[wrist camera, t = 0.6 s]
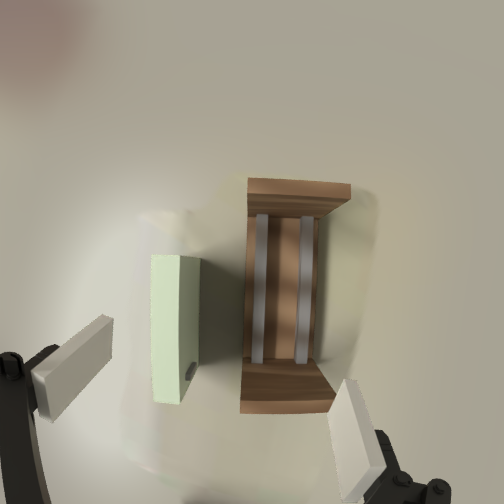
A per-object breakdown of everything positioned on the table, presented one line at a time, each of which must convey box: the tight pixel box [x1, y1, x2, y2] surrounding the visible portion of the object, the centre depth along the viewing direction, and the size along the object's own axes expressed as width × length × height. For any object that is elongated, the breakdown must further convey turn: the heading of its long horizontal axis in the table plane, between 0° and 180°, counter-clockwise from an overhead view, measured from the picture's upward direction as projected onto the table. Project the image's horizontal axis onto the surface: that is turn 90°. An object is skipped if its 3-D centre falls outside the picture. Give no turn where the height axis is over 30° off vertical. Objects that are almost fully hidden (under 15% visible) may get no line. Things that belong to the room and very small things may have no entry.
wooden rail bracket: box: [240, 178, 351, 414], centre depth 37 cm, size 23×10×16 cm, turn 178°
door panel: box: [150, 255, 201, 404], centre depth 38 cm, size 16×4×14 cm, turn 178°
